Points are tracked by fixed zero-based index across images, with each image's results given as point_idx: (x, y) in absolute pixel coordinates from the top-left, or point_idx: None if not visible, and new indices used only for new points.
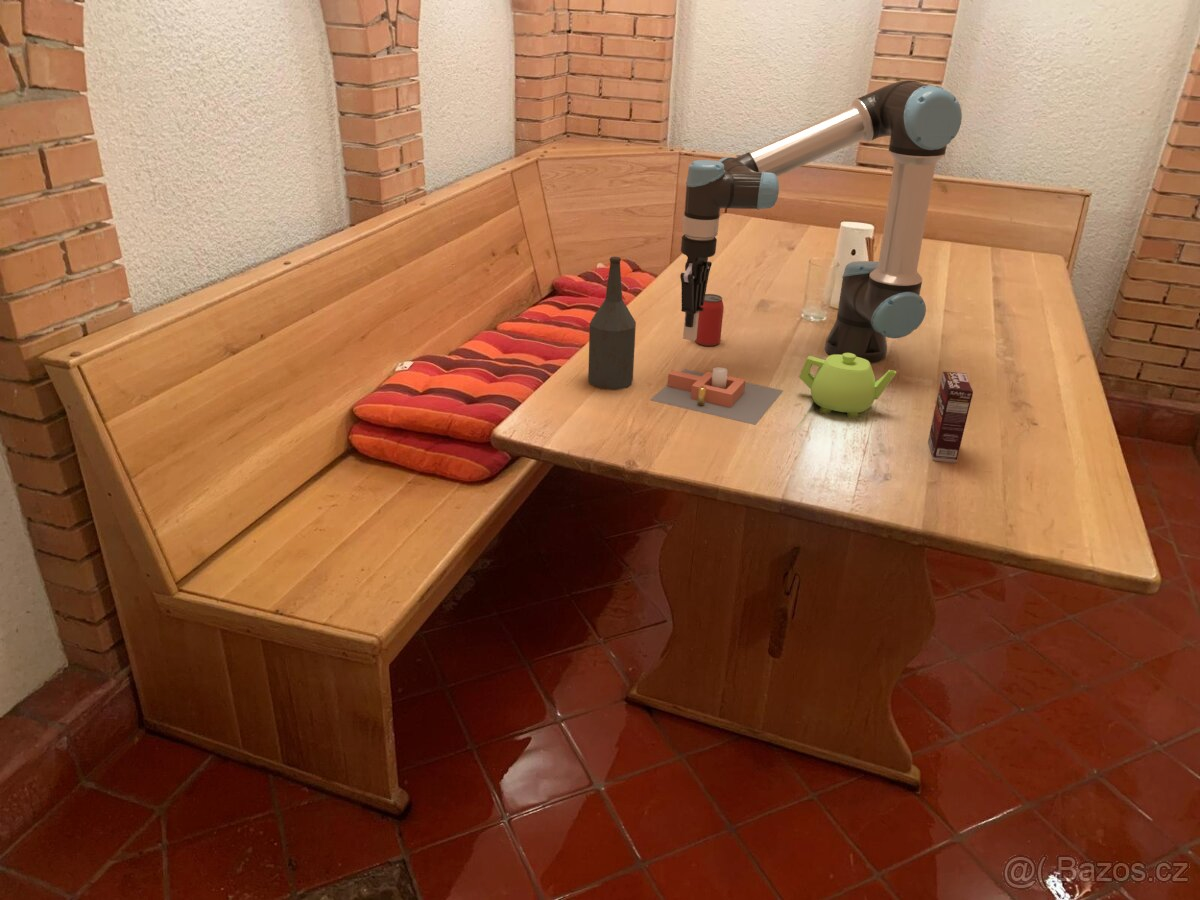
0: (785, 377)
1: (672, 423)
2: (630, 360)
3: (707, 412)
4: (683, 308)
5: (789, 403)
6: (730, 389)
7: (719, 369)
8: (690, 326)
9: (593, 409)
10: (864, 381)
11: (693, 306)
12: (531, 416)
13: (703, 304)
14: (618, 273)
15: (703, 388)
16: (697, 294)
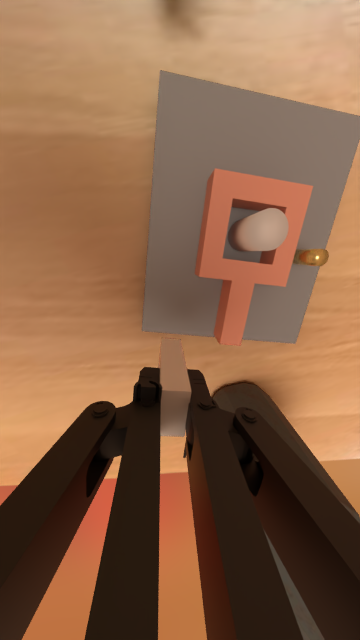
0: (34, 95)
1: (342, 287)
2: (277, 421)
3: (325, 235)
4: (257, 459)
5: (192, 57)
6: (284, 196)
7: (266, 233)
8: (200, 374)
9: (316, 400)
10: None
11: (255, 434)
12: (349, 448)
13: None
14: None
15: (323, 254)
16: (223, 500)
